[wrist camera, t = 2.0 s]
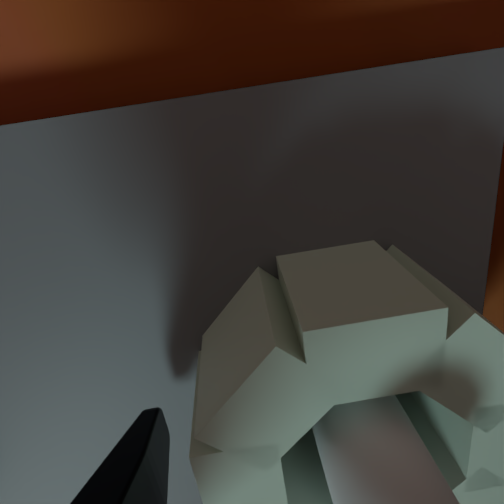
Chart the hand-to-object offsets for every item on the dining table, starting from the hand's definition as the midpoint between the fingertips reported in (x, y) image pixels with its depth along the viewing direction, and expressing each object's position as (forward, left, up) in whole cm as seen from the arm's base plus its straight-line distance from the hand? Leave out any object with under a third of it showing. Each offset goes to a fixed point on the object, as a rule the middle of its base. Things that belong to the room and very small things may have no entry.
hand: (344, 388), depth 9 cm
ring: (0, 0, -1) cm, 1 cm away
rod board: (+7, 0, -2) cm, 7 cm away
